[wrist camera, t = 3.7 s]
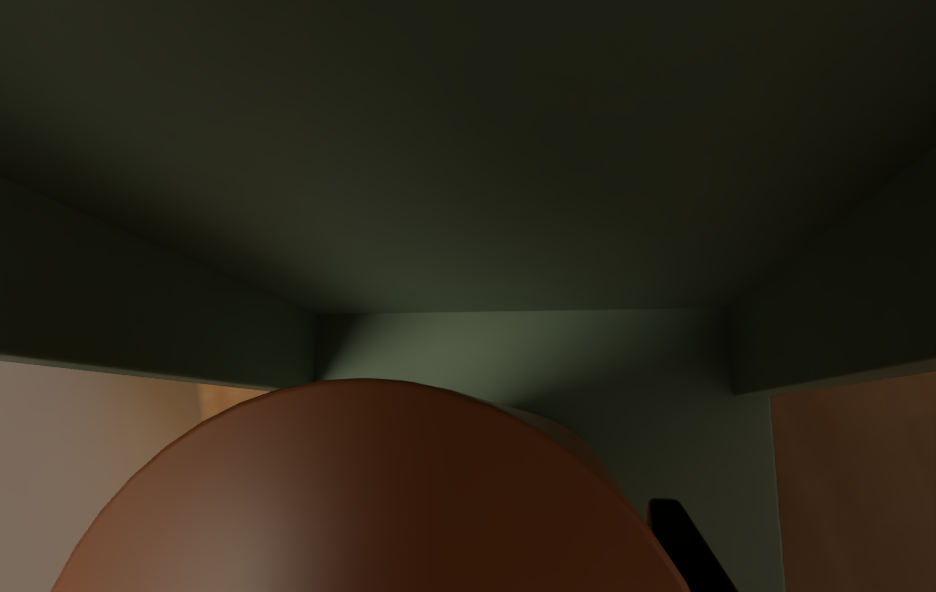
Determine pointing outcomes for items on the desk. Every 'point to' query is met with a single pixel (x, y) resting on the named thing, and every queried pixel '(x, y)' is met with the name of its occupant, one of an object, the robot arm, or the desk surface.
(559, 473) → the tea tin
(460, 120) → the green c-shaped stand
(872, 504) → the desk surface
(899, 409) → the desk surface
